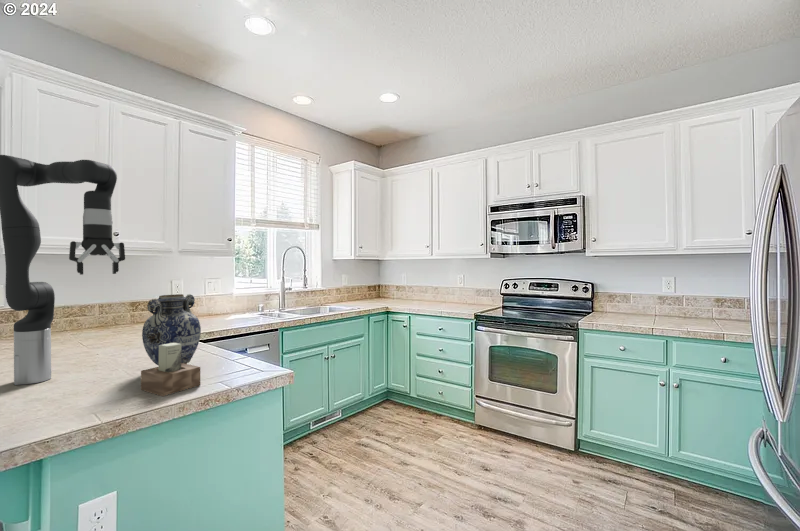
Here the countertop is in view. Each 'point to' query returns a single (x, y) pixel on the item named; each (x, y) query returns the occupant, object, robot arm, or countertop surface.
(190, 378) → the holder block
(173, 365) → the box
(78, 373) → the countertop surface
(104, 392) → the countertop surface
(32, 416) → the countertop surface
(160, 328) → the decorative vase
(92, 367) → the countertop surface
